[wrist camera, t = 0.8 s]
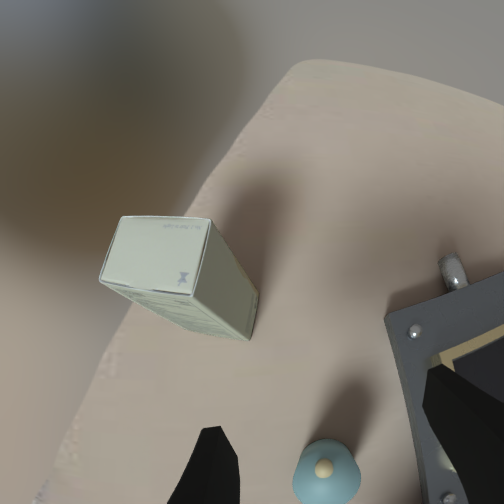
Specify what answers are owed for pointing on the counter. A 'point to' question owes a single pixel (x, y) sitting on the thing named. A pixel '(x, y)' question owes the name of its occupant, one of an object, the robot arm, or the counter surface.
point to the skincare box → (181, 274)
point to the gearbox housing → (448, 361)
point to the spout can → (326, 474)
